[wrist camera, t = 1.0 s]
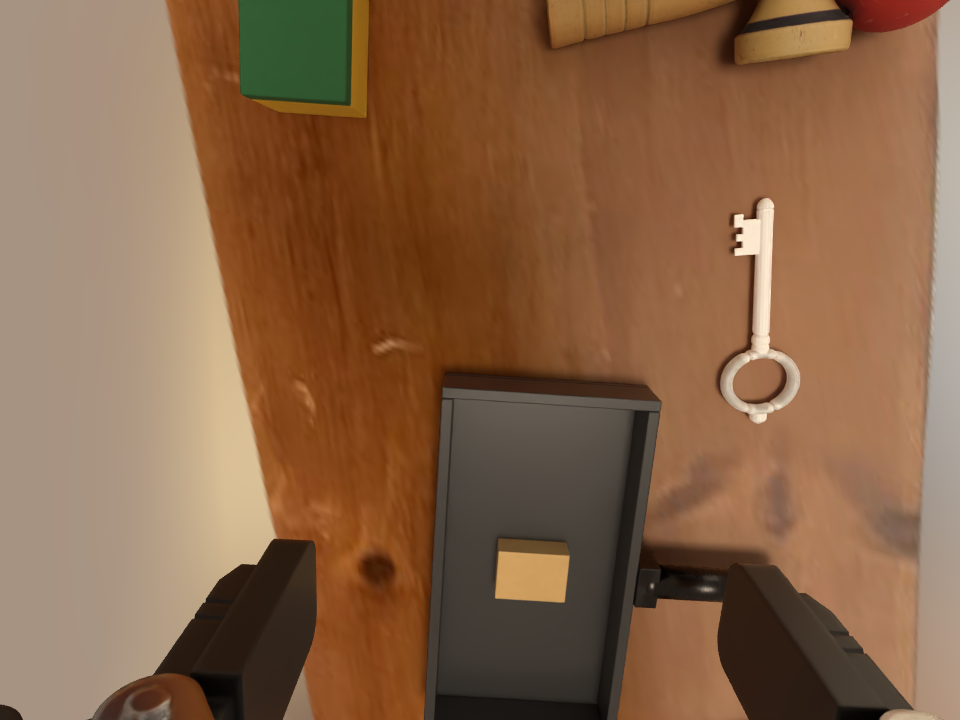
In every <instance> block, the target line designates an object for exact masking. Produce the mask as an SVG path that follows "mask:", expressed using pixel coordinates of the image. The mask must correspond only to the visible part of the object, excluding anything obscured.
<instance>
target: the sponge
mask: <svg viewBox="0 0 960 720" xmlns="http://www.w3.org/2000/svg"><path fill="white" fill-rule="evenodd" d="M238 1H239V47H240V93H241V95H243V96H246V97H248V98H250V99H251V100H254V101H256V102H258V103H260V104H262V105H264V106H266V107H268V108H271V109H273V110H275V111H277V112H284V113H299V114H313V115H327V116H341V117H356V118H366V117H367V75H368V31H369V0H238Z"/></svg>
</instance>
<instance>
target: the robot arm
mask: <svg viewBox="0 0 960 720" xmlns="http://www.w3.org/2000/svg"><path fill="white" fill-rule="evenodd" d="M316 615H317V601H316V549H315V544H314V542H313V541H309V540H289V539H273V540H272V541H271V543H270V544H269V546H268V548H267V549H266V551H265V552H264V554H263V556H262V557H261V559H260V560H259V562H258V564H257V565H249V564H241V565H240V566H238V567H237V568H235V569H234V570H233V571H231V572H230V573H228V574H227V575H225V576H224V577H223V578H221V579H220V580H219V581H218V583H217V584H216V585H215V587H214V588H213V590H212V591H211V592H210V594H209V595H208V597H207V598H206V602H205V603H203V604H202V605H201V607H200V608H199V610H198V611H197V613H196V614H195V618H194V619H192V620H191V621H190V623H189V624H188V626H187V627H186V628H185V630H184V631H183V633H182V634H181V636H180V637H179V638H178V640H177V641H176V643H175V644H174V646H173V647H172V649H171V650H170V651H169V653H168V655H167V656H166V657H165V659H164V660H163V662H162V663H161V664H160V666H159V667H158V669H157V670H156V672H155V673H154V674H153V675H152V676H148V677H145V678H141V679H139V680H136V681H134V682H131V683H129V684H128V685H126V686H124V687H122V688H120V689H119V690H117V691H116V692H114V693H113V694H112V695H111V696H109V697H108V698H107V699H106V700H105V701H104V702H103V703H102V704H101V705H100V706H99V708H98V709H97V711H96V712H95V714H94V716H93V718H92V719H89V720H283V717H284V715H285V712H286V709H287V707H288V704H289V702H290V699H291V696H292V694H293V691H294V689H295V686H296V684H297V681H298V678H299V676H300V673H301V671H302V668H303V666H304V663H305V660H306V658H307V655H308V653H309V650H310V647H311V644H312V641H313V637H314V632H315V625H316ZM718 652H719V657H720V661H721V664H722V667H723V669H724V671H725V673H726V675H727V677H728V679H729V681H730V683H731V685H732V687H733V689H734V691H735V693H736V695H737V697H738V699H739V701H740V703H741V705H742V707H743V709H744V711H745V713H746V715H747V717H748V719H749V720H942V719H940V718H938V717H935V716H932V715H930V714H927V713H923V712H919V711H915V710H914V709H913V708H912V707H911V706H910V705H909V703H908V702H907V701H906V700H905V699H904V697H903V696H902V695H901V694H900V693H899V692H898V690H897V689H896V688H895V687H894V686H893V684H892V683H891V682H890V681H889V680H888V678H887V677H886V676H885V675H884V674H883V672H882V671H881V670H880V669H879V668H878V666H877V665H876V664H875V663H874V662H873V660H872V659H871V658H870V657H869V656H868V655H867V654H864V653H863V649H862V647H861V646H860V645H859V644H858V643H857V641H856V640H855V639H854V638H853V637H852V636H849V632H848V631H847V629H846V628H845V627H844V626H843V625H842V623H841V622H840V621H839V620H838V619H837V618H836V616H835V615H834V614H833V613H832V612H831V611H830V610H829V609H827V608H826V607H824V606H823V605H821V604H820V603H819V602H817V601H816V600H814V599H813V598H812V597H810V596H809V595H807V594H806V593H798V592H797V591H796V590H795V588H794V587H793V586H792V584H791V583H790V582H789V581H788V579H787V578H786V577H785V576H784V574H783V573H782V572H781V571H780V569H779V568H778V567H777V566H775V565H768V564H748V563H734V564H732V565H731V567H730V568H729V571H728V576H727V581H726V587H725V593H724V599H723V605H722V611H721V616H720V622H719V628H718ZM0 720H23V719H22V717H21V715H20V713H19V712H18V711H17V710H16V709H14V708H12V707H9V706H5V705H0Z"/></svg>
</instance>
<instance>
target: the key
mask: <svg viewBox="0 0 960 720" xmlns="http://www.w3.org/2000/svg"><path fill="white" fill-rule="evenodd" d="M772 208H774V204H773V202H772V201H771V200H770V199H769V198H765V199H762V200H760V201H759V203H758V204H757V209H758V210H757V211H756V219H749V220H743V214H740V215H734V228H738V227H742V234H736V242H738V241H742V242H741V248H734V255H735V256H736V255H754V254H755V274H754V300H753V325H752V331H753V333H754V334H753V336H752V338H751V343H752V346H751V350H748V351H746V353H741V354H739V355H737V356H736V357H734V358H733V359H732V360H731V361H730V362H729V363H728V364H727V365H726V367H725V368H724V370H723V372H722V375H721V378H720V389H721V392H722V395H723V397H724V398H725V400H726V401H727V402H728V403H729V404H730V405H731V406H732V407H734V408H735V409H737V410H739V411H742V412H746V413H748V414H749V419H750V420H751V421H752V422H755V423H757V424H759V423H761V422H764V421H765V420H766V417H767V414H766V413H771V412H773V411H774V410H778V409H781V408H783V407H784V406H785V405H787V404H788V403H789V402H790V401H791V400H792V399H793V398H794V396H795V395H796V393H797V391H798V389H799V386H800V373H799V370H798V367H797V365H796V364H795V362H794V361H793V360H792V359H791V358H790V357H789V356H787V355H786V354H784V353H782V352H779V351H775V350H773V349H769V345H768V344H769V343H770V337H769V335H768V333H769V330H770V299H771V268H772V240H773V216H774V209H772ZM760 358H768V359H774V360H775V361H777V362H779V363H780V364H781V365H782V366H783V367H784V369H785V371H786V374H787V381H786V385H785V387H784V389H783V390H782V392H781V393H780V394H779V395H778V396H777V397H775V398H774V399H773V400H771V401H770V403H767V402H765V403H762V404H750V403H748V404H747V403H745V402H743V401H742V400H740V399H739V398H738V397H737V396H736V395H735V393H734V391H733V385H732V384H733V378H734V376H735V374H736V372H737V371H738V370H739V369H740V368H741V367H742V366H743V365H744V364H746V363H747V362H749V361H750V359H751V360H755V359H760Z"/></svg>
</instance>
